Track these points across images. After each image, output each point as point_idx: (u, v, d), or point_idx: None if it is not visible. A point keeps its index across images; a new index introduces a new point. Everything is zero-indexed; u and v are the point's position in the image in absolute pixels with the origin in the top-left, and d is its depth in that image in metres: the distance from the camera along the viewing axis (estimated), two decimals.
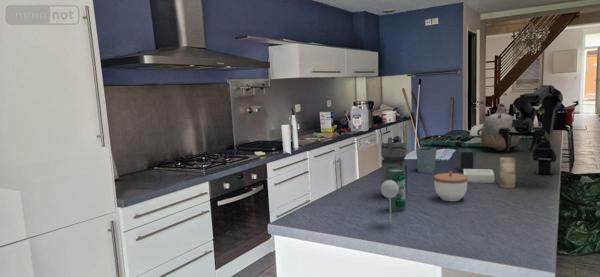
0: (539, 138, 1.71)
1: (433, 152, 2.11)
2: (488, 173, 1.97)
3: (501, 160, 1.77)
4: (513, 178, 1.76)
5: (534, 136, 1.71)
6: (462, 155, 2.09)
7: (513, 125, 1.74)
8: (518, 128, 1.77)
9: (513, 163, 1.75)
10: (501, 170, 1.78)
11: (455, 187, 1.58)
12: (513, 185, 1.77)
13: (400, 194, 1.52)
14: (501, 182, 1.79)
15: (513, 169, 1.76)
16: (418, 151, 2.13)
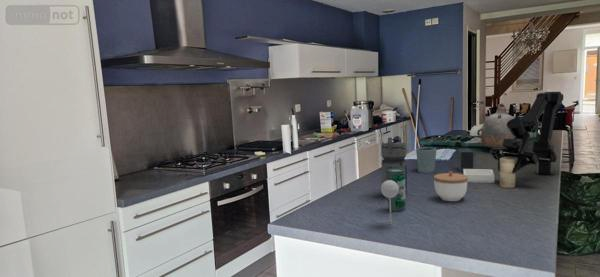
0: (524, 159, 1.74)
1: (433, 152, 2.11)
2: (488, 173, 1.97)
3: (501, 160, 1.77)
4: (513, 178, 1.76)
5: (519, 156, 1.75)
6: (462, 155, 2.09)
7: (503, 144, 1.78)
8: (509, 149, 1.80)
9: (513, 163, 1.75)
10: (501, 170, 1.78)
11: (455, 187, 1.58)
12: (513, 185, 1.77)
13: (400, 194, 1.52)
14: (501, 182, 1.79)
15: None
16: (418, 151, 2.13)
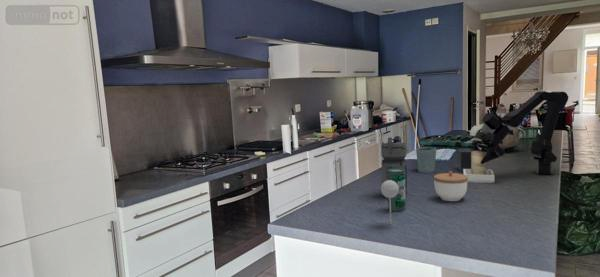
0: (492, 152, 1.85)
1: (433, 152, 2.11)
2: (488, 173, 1.97)
3: (471, 153, 1.93)
4: (480, 170, 1.90)
5: (488, 149, 1.86)
6: (462, 155, 2.09)
7: (475, 136, 1.92)
8: (483, 141, 1.93)
9: (480, 156, 1.89)
10: (471, 162, 1.93)
11: (455, 187, 1.58)
12: None
13: (400, 194, 1.52)
14: (471, 173, 1.94)
15: None
16: (418, 151, 2.13)
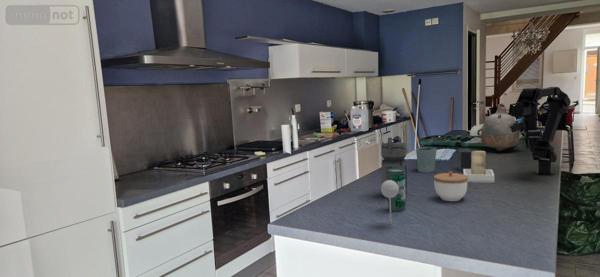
0: (530, 138, 1.83)
1: (433, 152, 2.11)
2: (488, 173, 1.97)
3: (471, 153, 1.93)
4: (480, 170, 1.90)
5: (525, 137, 1.84)
6: (462, 155, 2.09)
7: None
8: None
9: (480, 156, 1.89)
10: (471, 162, 1.93)
11: (455, 187, 1.58)
12: None
13: (400, 194, 1.52)
14: (471, 173, 1.94)
15: (480, 162, 1.89)
16: (418, 151, 2.13)
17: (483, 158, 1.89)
